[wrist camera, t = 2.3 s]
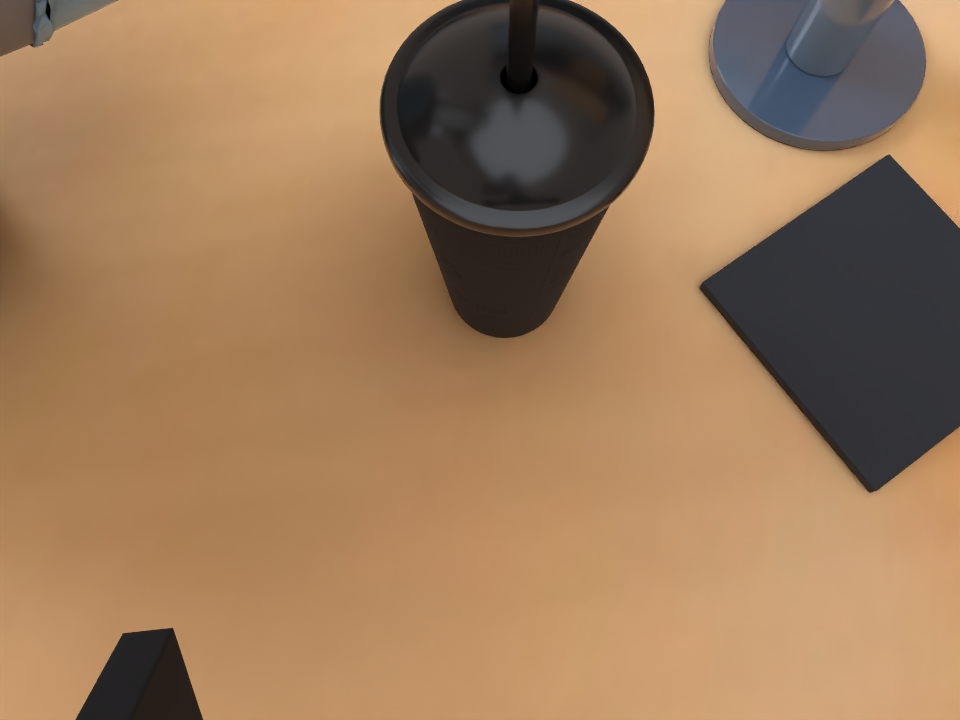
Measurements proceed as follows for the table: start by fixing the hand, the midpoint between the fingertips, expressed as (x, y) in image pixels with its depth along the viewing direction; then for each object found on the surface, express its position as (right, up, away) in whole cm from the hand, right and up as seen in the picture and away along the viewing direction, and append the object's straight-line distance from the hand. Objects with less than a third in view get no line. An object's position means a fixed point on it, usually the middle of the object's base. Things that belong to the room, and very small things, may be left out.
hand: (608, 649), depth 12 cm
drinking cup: (-1, +8, +23) cm, 24 cm away
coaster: (+15, +6, +22) cm, 28 cm away
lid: (+14, +19, +26) cm, 35 cm away
